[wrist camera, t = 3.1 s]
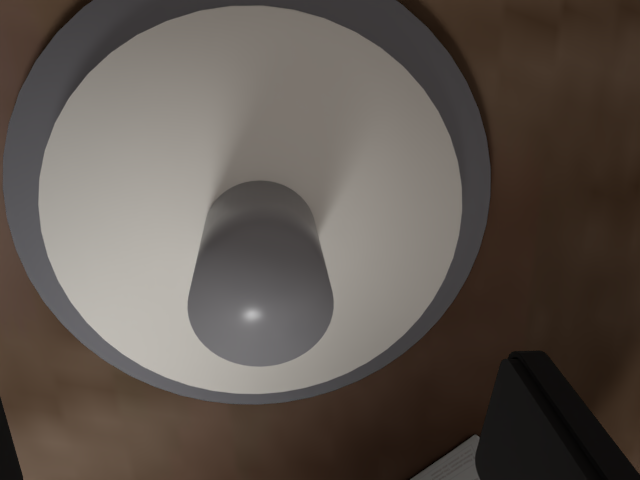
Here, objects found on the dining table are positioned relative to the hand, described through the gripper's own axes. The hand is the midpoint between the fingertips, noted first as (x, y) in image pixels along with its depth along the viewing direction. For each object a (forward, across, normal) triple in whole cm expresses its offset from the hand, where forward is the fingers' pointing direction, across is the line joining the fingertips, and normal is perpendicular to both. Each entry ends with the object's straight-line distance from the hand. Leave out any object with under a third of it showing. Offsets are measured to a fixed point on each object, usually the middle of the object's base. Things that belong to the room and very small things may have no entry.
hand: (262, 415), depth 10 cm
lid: (+11, 0, +1) cm, 11 cm away
